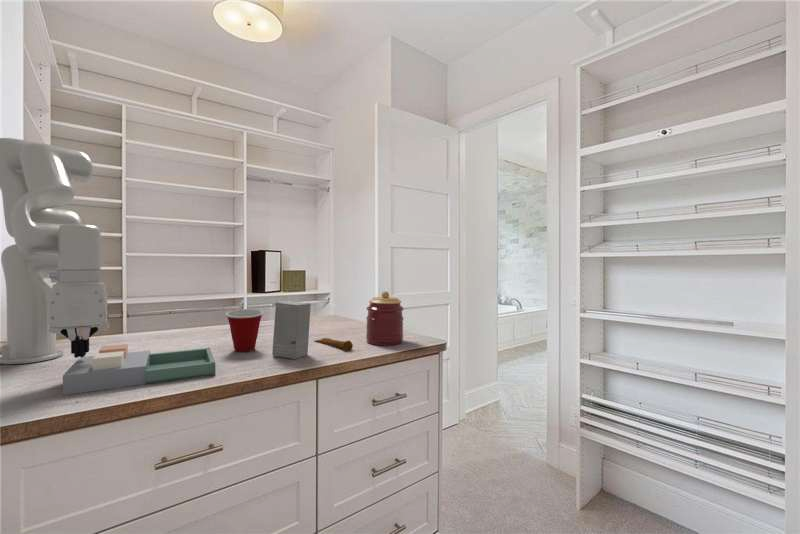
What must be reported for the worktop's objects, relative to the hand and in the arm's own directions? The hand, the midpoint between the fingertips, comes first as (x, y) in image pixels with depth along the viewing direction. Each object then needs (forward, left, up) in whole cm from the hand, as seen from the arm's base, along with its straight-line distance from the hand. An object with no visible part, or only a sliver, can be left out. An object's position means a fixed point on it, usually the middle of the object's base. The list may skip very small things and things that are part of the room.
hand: (80, 355), depth 86 cm
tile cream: (+6, -8, -1) cm, 10 cm away
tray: (+20, -4, -5) cm, 21 cm away
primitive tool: (+63, +4, -6) cm, 64 cm away
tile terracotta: (+6, 0, -1) cm, 6 cm away
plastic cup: (+37, +10, -5) cm, 39 cm away
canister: (+81, 0, -5) cm, 81 cm away
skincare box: (+48, -3, -5) cm, 49 cm away
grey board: (+6, -4, -5) cm, 9 cm away
